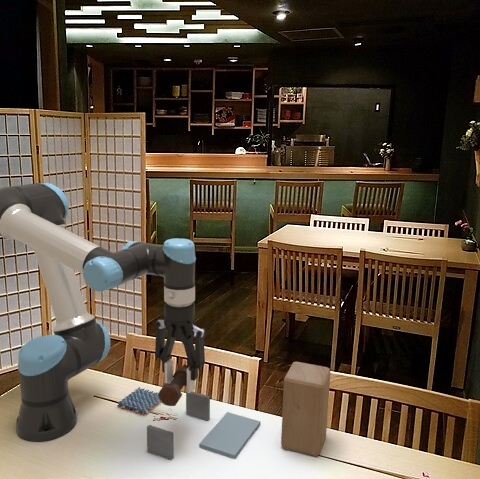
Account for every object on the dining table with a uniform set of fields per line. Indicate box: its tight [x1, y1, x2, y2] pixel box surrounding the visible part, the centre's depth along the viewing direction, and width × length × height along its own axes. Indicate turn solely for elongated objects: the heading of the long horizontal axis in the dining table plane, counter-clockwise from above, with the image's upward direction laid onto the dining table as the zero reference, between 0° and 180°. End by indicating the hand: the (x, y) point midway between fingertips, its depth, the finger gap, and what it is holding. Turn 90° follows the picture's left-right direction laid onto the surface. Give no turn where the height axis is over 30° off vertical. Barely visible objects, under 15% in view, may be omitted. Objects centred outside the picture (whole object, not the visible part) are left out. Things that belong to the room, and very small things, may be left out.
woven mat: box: [116, 386, 163, 417], centre depth 145 cm, size 10×11×2 cm
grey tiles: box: [146, 390, 211, 461], centre depth 130 cm, size 7×19×7 cm, turn 155°
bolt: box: [157, 364, 189, 407], centre depth 126 cm, size 6×5×15 cm
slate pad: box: [198, 411, 261, 460], centre depth 130 cm, size 10×16×1 cm, turn 155°
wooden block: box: [280, 361, 331, 457], centre depth 126 cm, size 10×10×20 cm
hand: (179, 387), depth 127 cm, fingers closed on bolt, 6 cm apart
